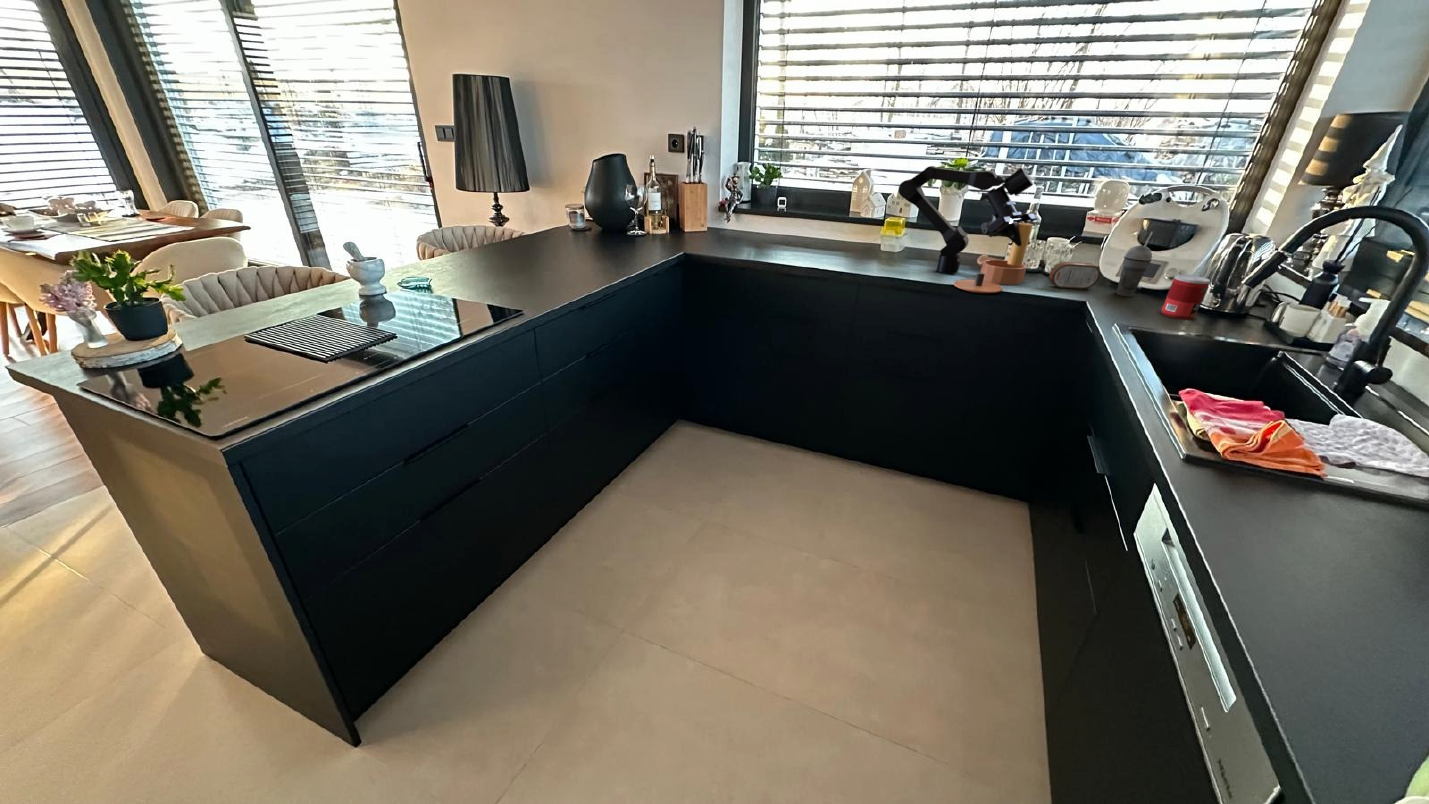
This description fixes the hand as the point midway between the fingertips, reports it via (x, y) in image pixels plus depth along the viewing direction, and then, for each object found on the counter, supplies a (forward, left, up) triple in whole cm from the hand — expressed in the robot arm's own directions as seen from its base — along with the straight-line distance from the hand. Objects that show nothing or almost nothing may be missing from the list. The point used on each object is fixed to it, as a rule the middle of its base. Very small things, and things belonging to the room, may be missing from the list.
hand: (1024, 244), depth 181 cm
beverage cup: (+31, +13, -14) cm, 36 cm away
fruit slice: (-13, +18, -14) cm, 26 cm away
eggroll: (-1, 0, -7) cm, 7 cm away
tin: (+16, +10, -14) cm, 23 cm away
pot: (-5, +5, -13) cm, 15 cm away
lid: (-8, -13, -13) cm, 20 cm away
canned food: (+45, -3, -14) cm, 47 cm away
